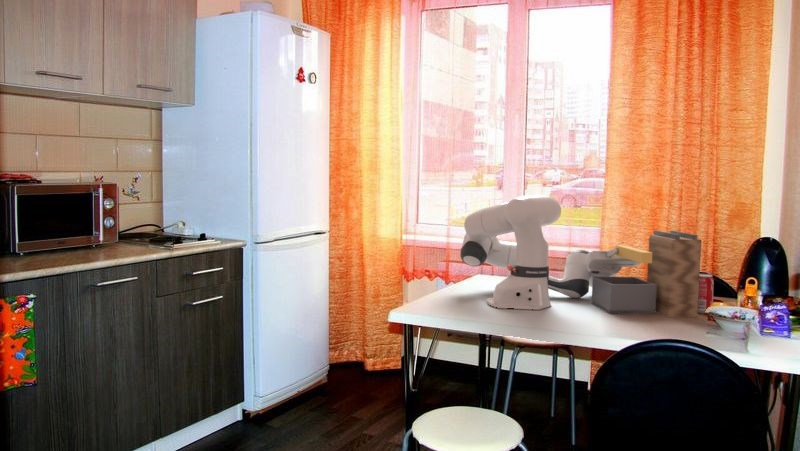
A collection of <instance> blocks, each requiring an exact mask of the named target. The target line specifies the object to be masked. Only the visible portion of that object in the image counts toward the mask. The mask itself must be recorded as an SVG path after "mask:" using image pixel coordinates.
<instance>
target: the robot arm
mask: <svg viewBox="0 0 800 451" xmlns="http://www.w3.org/2000/svg"><path fill="white" fill-rule="evenodd" d="M561 214H562V207H561V204H560V202H559V201H558V200H557V199H556V198H554V197H551V196H548V195H521V196H518V197H515V198H513V199H511V200H510V201H508V202H503V203H499V204H496V205H491V206H489V207H485V208H481V209H478V210H476V211H474V212H472V213H471V214H468V215H467V216H466V218H465V219H464V224H463V226H464V230H465V232H466V233H465V235H464V238H463V239H462V240H463V242H462V246H461V248H460V259H461V262H463V263H464V264H466V265H467V266H469V267H475V268H476V267H481V266H482V265H484V264H485V262H486V264H488V265H491V266H492V267H496V268H499V269H504V270H508V271H509V272H510V275H508V276H507V277H506V278H504V279H503V280H501V281H500V282H499V283H497V284H496V286H495V287H494V291H493V297H488V298H487V300H486V303H487V305H489V306H490V305H491V307H492V306H494V307H493V308H496V307H497V308H496V309H507V308H514V309H513V310H532V309H533V310H534V311H535V310H537V311H540V310H543V309H546V308H549V307H551V306H552V303H551V299H550V295H549V294H550V293H549V290H552V291H554V292H558V293H561V294H563V295H564V296H566V297H569V298H572V299H581V298H583V297H585V296H586V295H587V294H588V293H589V291H590V287H591V288H592V284H593V277H616V275H617V274H619V272H620V271H622V268H623V267H624V268H626V267H627V268H631V267H633V268H634V267H637V266H639V265H641V264H642V263H639V262H636V261H633V260H629V259H626V258H623V257H620V256H617V255H615V254H618V253H619V248H616V247H614V248H613V249H609V250H590V251H587V250H585V249H577V250H574V251H573V250H572V251H571V252H569V253H568V254H567V255H566V259H565V264H564V272H563V275H562V276H563V277H562V278H557V277H555V276H552V275H550V266H549V243H548V242H547V240H546V239H545V237H544V233H543V230H542V227H547V226H550V225H552V224H554V223H556V222H557V221H558V220H559V219H560V217H561ZM509 233H514V236H515V241H516V242H514V241H505V240H500V239H499V238H498V237H497V236H501V235H506V234H509Z"/></svg>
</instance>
